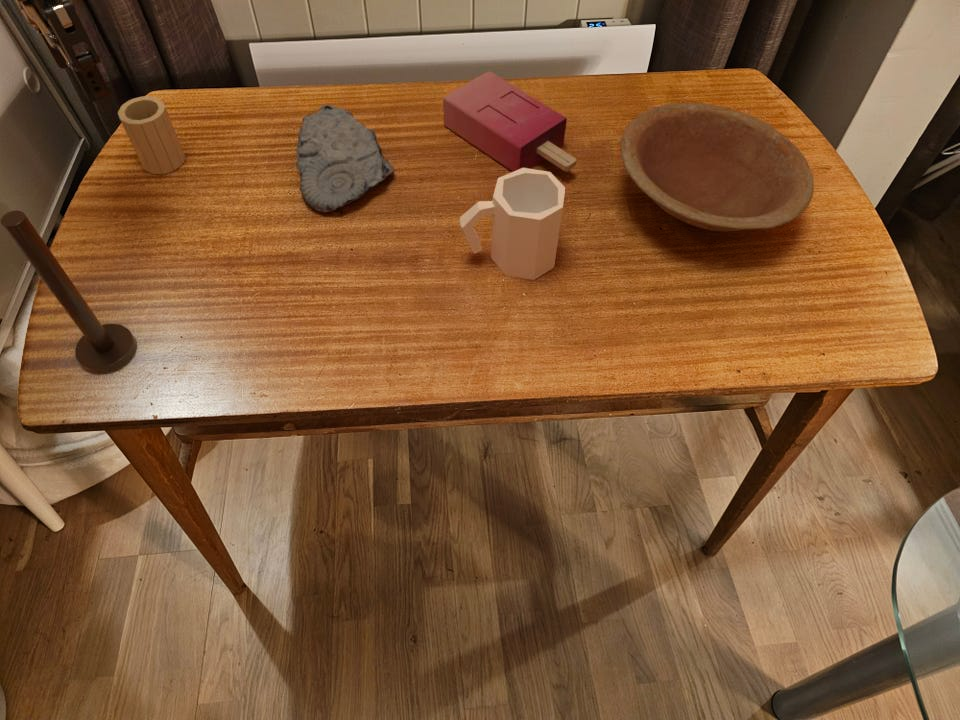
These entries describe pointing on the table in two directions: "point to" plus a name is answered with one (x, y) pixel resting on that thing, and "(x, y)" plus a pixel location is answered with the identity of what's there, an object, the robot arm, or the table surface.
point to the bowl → (716, 167)
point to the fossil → (337, 159)
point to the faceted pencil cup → (152, 134)
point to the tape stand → (73, 302)
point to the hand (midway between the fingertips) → (84, 81)
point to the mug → (521, 222)
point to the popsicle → (507, 123)
